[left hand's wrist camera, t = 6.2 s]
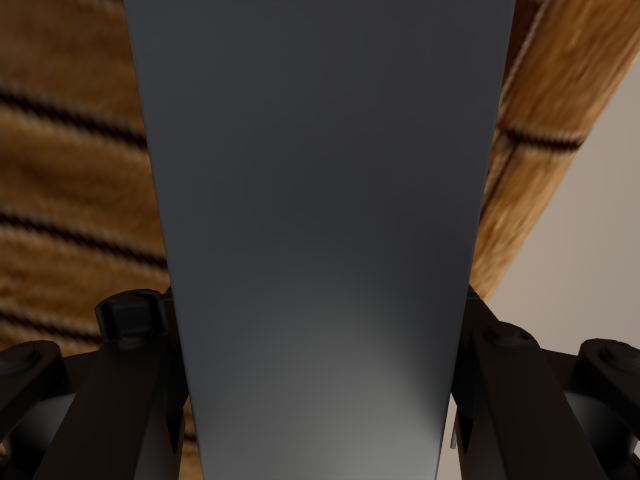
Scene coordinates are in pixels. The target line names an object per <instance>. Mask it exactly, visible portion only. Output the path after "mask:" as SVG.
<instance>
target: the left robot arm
mask: <svg viewBox="0 0 640 480" xmlns="http://www.w3.org/2000/svg"><path fill="white" fill-rule="evenodd" d="M94 310H95V314H96V317H97V321H98V325H99V329H100V333H101V337H102V341H103V343H102V345H101V347H100V349H99V350H97V351H93V352H88V353H83V354H78V355H73V356H68V357H62V354H61V351H60V348H59V346H58V345H57V344H56V343H55V342H53V341H46V340H39V341H28V342H24V343H22V344H21V343H20V344H17V345H13V346H11V347H10V348H8V349H6V350H3V351H1V352H0V443H1V442H2V443H3V445H4V448H5V450H6V452H7V454H6V455H5V456H4V457H3V459H2V460H1V461H0V480H178V478H179V470H180V462H181V455H182V447H183V440H184V432H185V416H184V411H183V406H184V404H185V402H186V400H187V397H188V395H189V391H188V385H187V379H186V373H185V367H184V361H183V355H182V349H181V343H180V337H179V331H178V325H177V319H176V313H175V307H174V301H173V295H172V289H171V286H170V287H169V288H168V289H167V291H166V293H164V294H163V295H162V294H161V293H160V292H158V291H155V290H151V289H135V290H130V291H125V292H121V293H118V294H116V295H113V296H110V297H109V298H107V299H105V300H103V301H101V302H100V303H99V304H98V305H97V306H96V307H95V308H94ZM451 394H452V396H453V398H454V400H455V403H456V405H457V411H456V416H455V422H454V428H453V433H452V439H451V446H450V448H452V449H455V447H456V442H457V446H458V454H459V462H460V469H461V477H462V480H640V459H639V458H638V457H637V455H636V454H635V453H634V449H635V447H636V445H637V442H638V440H639V441H640V350H639V349H637V348H634V347H632V346H630V345H629V344H626V343H623V342H618V341H616V340H610V339H609V340H608V339H598V338H596V339H589V340H586V341H585V342H583V343H582V344H581V347H580V350H579V353H578V356H576V355H571V354H565V353H560V352H555V351H550V350H545V349H542V348H540V346H539V344H538V342H537V341H536V340H535V339H534V337H533V336H532V335H531V334H530V333H528V332H527V331H525V330H524V329H522V328H520V327H518V326H515V325H513V324H510V323H506V322H502V321H499V320H498V319H497V318H496V316H495V315H494V314H493V313H492V312H491V310H490V309H489V308H488V307H487V305H486V304H485V303H484V302H483V300H480V297H479V296H478V294H477V293H476V292H474V289H473V288H472V287H471V286H470V284H469V285H468V291H467V297H466V303H465V309H464V315H463V321H462V327H461V333H460V339H459V345H458V351H457V357H456V363H455V369H454V375H453V381H452V387H451Z"/></svg>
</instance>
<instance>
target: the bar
mask: <svg viewBox="0 0 640 480" xmlns="http://www.w3.org/2000/svg"><path fill="white" fill-rule="evenodd" d="M123 1H124V7H125V13H126V19H127V25H128V31H129V37H130V43H131V49H132V55H133V61H134V67H135V73H136V79H137V85H138V91H139V97H140V103H141V109H142V115H143V121H144V127H145V133H146V139H147V145H148V151H149V157H150V163H151V169H152V175H153V181H154V187H155V193H156V199H157V205H158V211H159V217H160V223H161V229H162V235H163V241H164V247H165V253H166V259H167V265H168V271H169V277H170V283H171V289H172V295H173V301H174V307H175V313H176V319H177V325H178V331H179V337H180V343H181V349H182V355H183V361H184V367H185V373H186V379H187V385H188V391H189V397H190V403H191V409H192V415H193V421H194V427H195V433H196V439H197V445H198V451H199V457H200V463H201V469H202V475H203V480H436V477H437V472H438V465H439V460H440V454H441V448H442V441H443V436H444V430H445V423H446V417H447V411H448V405H449V399H450V393H451V387H452V381H453V375H454V369H455V363H456V357H457V351H458V345H459V339H460V333H461V327H462V321H463V315H464V309H465V303H466V297H467V291H468V285H469V279H470V273H471V267H472V261H473V255H474V249H475V243H476V237H477V231H478V225H479V219H480V213H481V207H482V201H483V195H484V189H485V183H486V177H487V171H488V165H489V159H490V153H491V147H492V141H493V135H494V129H495V123H496V117H497V111H498V105H499V99H500V92H501V86H502V80H503V74H504V68H505V62H506V56H507V50H508V44H509V38H510V32H511V26H512V20H513V14H514V8H515V2H516V0H123Z"/></svg>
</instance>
